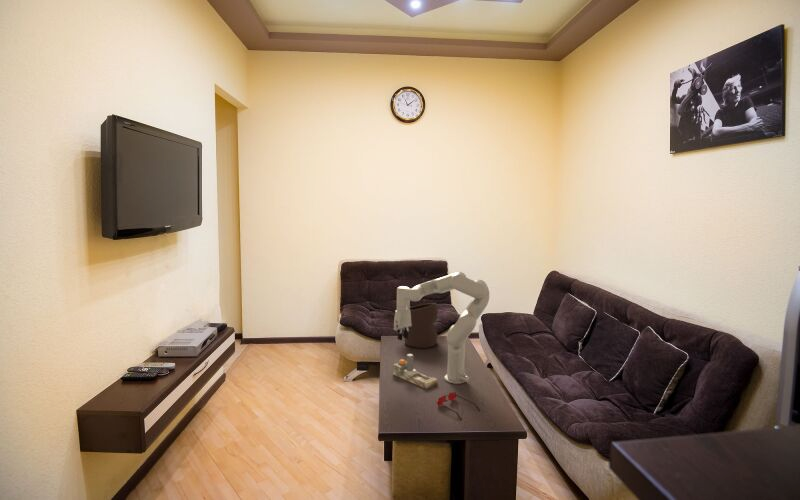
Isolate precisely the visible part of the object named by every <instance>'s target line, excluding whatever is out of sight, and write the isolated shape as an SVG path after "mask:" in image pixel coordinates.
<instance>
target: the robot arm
mask: <svg viewBox="0 0 800 500" xmlns="http://www.w3.org/2000/svg"><path fill="white" fill-rule="evenodd" d="M452 290H455V291H457V292H458V291H459V292H460V293H461V294H465V295H467V296H469V297H471V298H472V299H471V301H469V303H468V305H467V306H466V308H464V310H463V311H462V312H461V314H460V315H459V317H458V319H457V321H456V322H455V324H452V325H450V327H449V328H448V330H447V334H446V342H447V366H446V367H447V368H446V369H447V371H446V372H447V373H446V374H445V375H444V377H443V378H444V381H446V382H447V383H450V384H455V385H458V384H464V383H468V382H469V381H470V380H469V379H470V377H469V376H467V372H465V359H466V358H465V357H466V356H465V353H466V350H465V349H466V341H467V338H469V336H470V335H471V333H472V332H473V331H474V329H475V327H476V326H477V321H478V319H479V318H480V317H481V315H482V313H483V312H484V311H485V309H486V307H487V306H488V304H489V301H490V291H489V287H488V285H487V283H486V282H485V281H484V280H482V279H475V280H473V279H470V278H469V277H467V275H466V274H465V273H464V272H462V271H456V272H454V273H450V274H448V275H445V276H442V277H439V278H434V279H432V280H428V281H424V282H422V283H420V284H417V285H415V286H413V287H412V288H410V287H408V286H404V285H401V286H398V287H397V288H396V310H395V313H394V319H393V320H394V321H393V330H394V331H395V332H396V333H397V340H399V341H403V339H405V338H406V339H407V338H408V331H409V328H410V327H411V326H412V324H411V312H410V307H411V305H410V303H411V302H419V301H420V300H421V299H422V298H423V297H425V296H429V295H432V294H443V293H446V292H447V293H448V292H450V291H452ZM402 331H403V332H402Z"/></svg>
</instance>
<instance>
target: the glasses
mask: <svg viewBox="0 0 800 500" xmlns="http://www.w3.org/2000/svg"><path fill="white" fill-rule="evenodd" d="M457 397H458V398H460V399H461V400H464V401H466V402H468V403H471V405H474V406H475V408H476V409H477V410H478V411H479V412H481V410H480V408H479V406H477V405H476V404H475V403H473V402H472V401H469V400H468V399H466V398H464V397H461V396H459V395H457V392H456V391H452V392H449V393H448V394H445V395H443V396H441V397H439V398H438V400H437V401H436V405H437V406H438V407H441V406H443V407H444V408H446V409H448V410H450V411H451V412H454V413H455V414H456V415H457V416H458V418H459V420H460V421H463V419H462V418H461V416H460V415H459V413H458V412H457V411H456V410H454V409H451V408H450V407H447V406H445V405H444V403H446V402H448V400H449V401H451V402H453V401H454V400H455V399H456V398H457ZM447 398H448V399H447Z"/></svg>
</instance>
